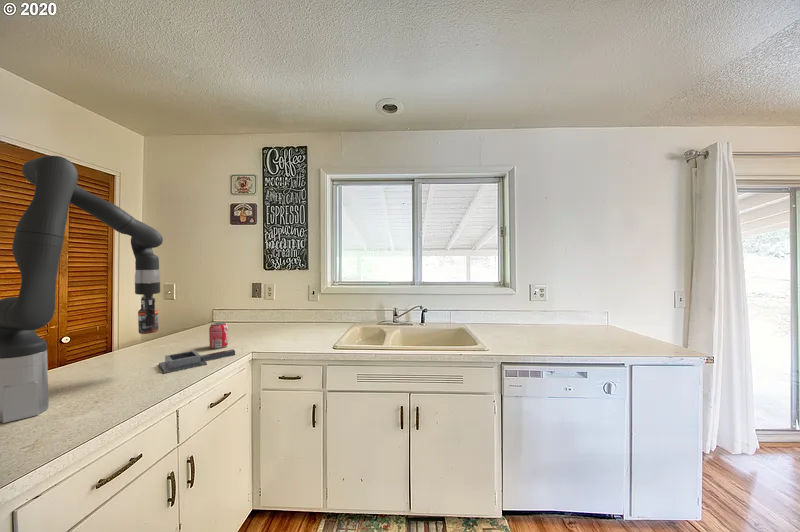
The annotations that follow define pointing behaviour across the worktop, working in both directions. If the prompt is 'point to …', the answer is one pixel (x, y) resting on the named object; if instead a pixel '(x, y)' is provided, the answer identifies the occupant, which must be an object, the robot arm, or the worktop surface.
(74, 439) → the worktop surface
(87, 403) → the worktop surface
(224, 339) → the beverage can
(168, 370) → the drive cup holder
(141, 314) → the supplement bottle
